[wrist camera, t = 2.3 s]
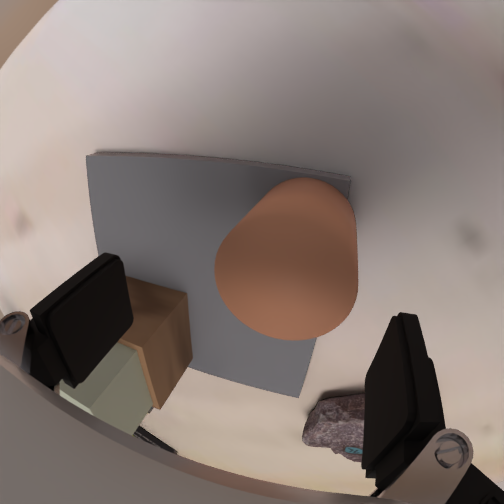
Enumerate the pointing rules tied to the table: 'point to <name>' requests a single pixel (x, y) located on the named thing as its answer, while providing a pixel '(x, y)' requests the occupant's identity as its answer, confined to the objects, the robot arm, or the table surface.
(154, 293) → the base block
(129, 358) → the top block
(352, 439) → the rock
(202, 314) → the slate board
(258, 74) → the table surface
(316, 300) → the cylinder
